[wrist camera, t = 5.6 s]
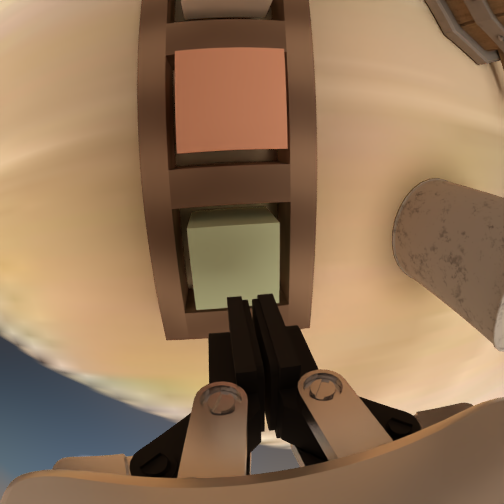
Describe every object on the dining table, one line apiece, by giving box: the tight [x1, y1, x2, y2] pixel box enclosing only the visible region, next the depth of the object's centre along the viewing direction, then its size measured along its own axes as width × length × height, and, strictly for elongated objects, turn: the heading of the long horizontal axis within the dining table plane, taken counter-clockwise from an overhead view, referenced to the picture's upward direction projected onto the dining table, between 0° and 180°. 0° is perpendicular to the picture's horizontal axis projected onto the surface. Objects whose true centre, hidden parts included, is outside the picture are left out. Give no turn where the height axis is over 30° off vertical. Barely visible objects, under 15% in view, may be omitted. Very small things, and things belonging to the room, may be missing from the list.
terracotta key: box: [175, 47, 288, 154], centre depth 14 cm, size 5×5×4 cm
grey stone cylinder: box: [392, 178, 504, 351], centre depth 17 cm, size 10×10×12 cm
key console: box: [137, 0, 317, 340], centre depth 16 cm, size 29×10×4 cm, turn 2°
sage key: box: [187, 206, 280, 310], centre depth 19 cm, size 5×5×4 cm
